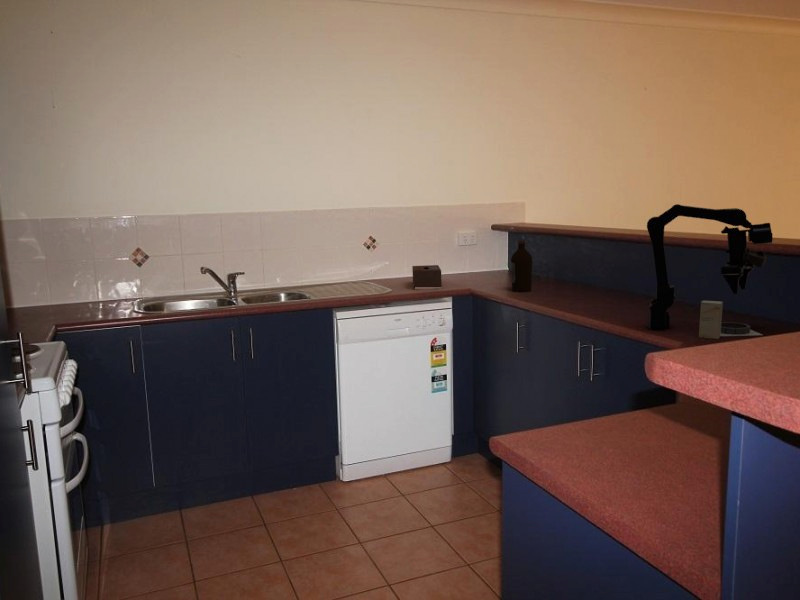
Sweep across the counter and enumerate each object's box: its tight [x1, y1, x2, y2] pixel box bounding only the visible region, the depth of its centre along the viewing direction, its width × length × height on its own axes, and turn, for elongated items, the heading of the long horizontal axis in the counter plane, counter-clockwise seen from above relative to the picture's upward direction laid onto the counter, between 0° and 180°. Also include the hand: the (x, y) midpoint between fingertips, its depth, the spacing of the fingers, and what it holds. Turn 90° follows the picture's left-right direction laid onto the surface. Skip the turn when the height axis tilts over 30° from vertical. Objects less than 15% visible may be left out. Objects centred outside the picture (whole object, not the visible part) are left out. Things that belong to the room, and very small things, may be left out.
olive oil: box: [510, 240, 534, 293], centre depth 330 cm, size 11×11×25 cm
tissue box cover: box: [411, 264, 443, 288], centre depth 359 cm, size 26×14×10 cm, turn 0°
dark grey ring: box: [721, 321, 751, 335], centre depth 226 cm, size 11×11×2 cm
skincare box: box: [698, 300, 724, 340], centre depth 219 cm, size 6×4×12 cm
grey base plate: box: [720, 329, 763, 337], centre depth 226 cm, size 14×14×1 cm
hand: (739, 291), depth 226 cm, fingers open, 9 cm apart
